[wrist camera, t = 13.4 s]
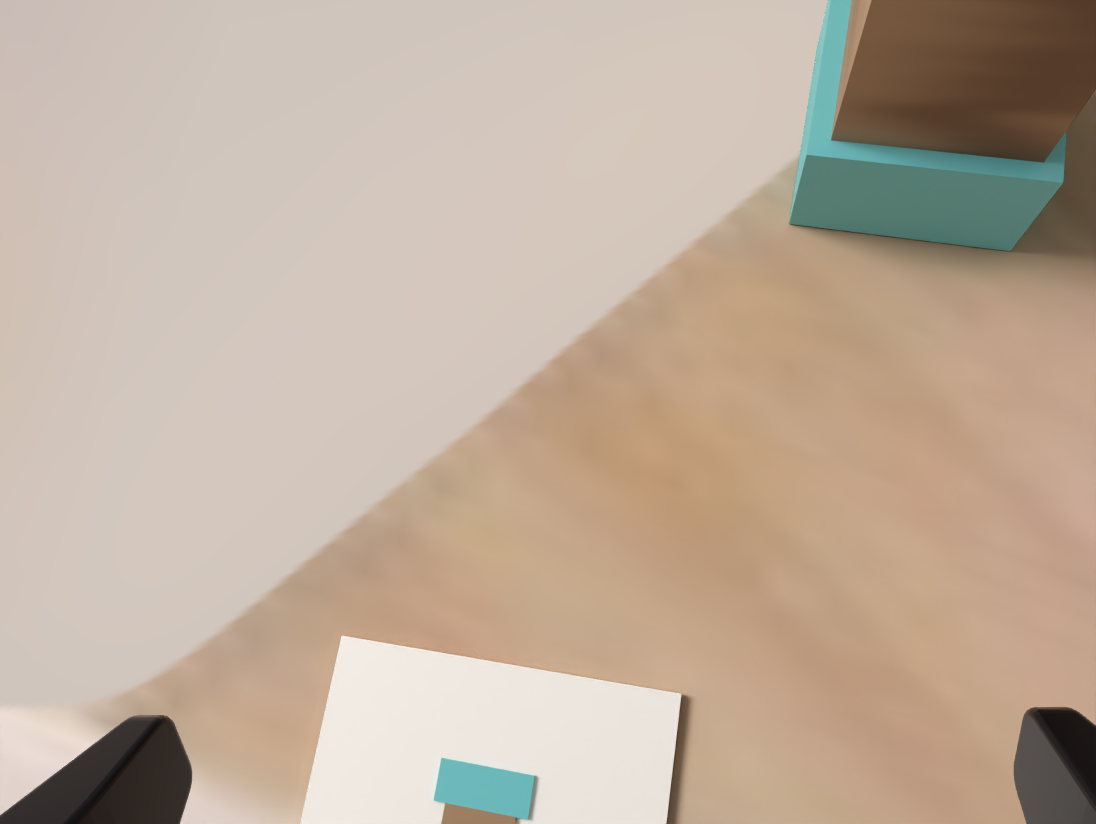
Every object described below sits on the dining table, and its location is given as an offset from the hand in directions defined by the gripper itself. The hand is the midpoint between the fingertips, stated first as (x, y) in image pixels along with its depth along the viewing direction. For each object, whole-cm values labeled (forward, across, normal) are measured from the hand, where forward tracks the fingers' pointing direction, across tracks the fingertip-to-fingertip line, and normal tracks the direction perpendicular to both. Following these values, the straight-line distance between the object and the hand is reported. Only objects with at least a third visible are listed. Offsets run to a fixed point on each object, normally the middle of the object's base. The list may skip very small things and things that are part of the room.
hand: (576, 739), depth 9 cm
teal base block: (+21, -9, -1) cm, 22 cm away
